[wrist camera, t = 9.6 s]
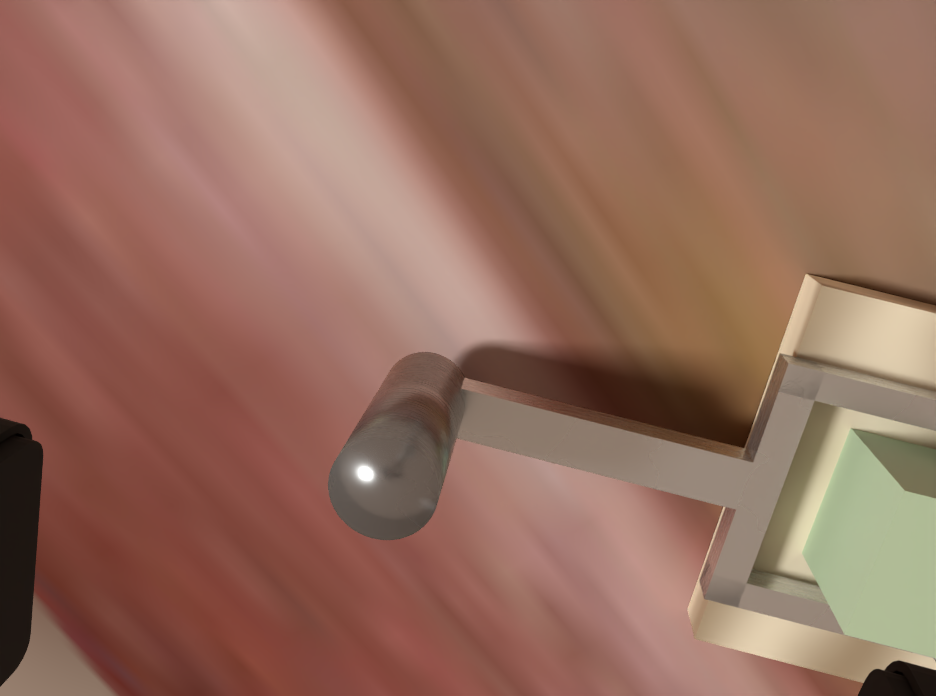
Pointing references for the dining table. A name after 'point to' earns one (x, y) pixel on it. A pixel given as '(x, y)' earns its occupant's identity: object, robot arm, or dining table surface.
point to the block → (879, 542)
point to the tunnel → (828, 467)
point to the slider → (607, 459)
